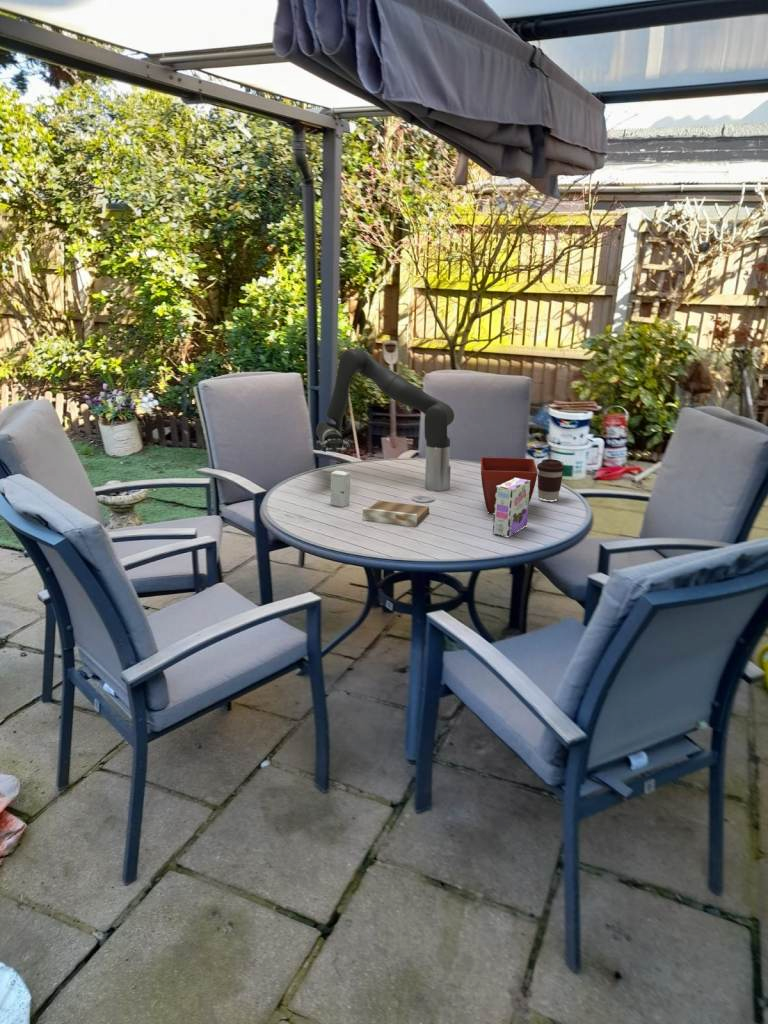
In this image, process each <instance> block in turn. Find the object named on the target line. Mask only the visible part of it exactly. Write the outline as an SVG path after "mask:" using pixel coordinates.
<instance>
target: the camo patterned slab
mask: <svg viewBox="0 0 768 1024" xmlns="http://www.w3.org/2000/svg"><path fill="white" fill-rule="evenodd" d="M429 514H430V506H426V505H419V504H410V503H402V502H393V501H385V500H384V501H383V500H377V501H376V502H375V503H374V504H372V505H371V506H370V507H363V508H362V520H363V521H367V520H369V521H368V522H375V523H381V524H383V523H384V524H391V525H399V526H405V527H413V526H414V527H417V526H418V525H419V524H420V523H422V522H423V520H424V519H425V518H426V517H427V516H428V515H429Z"/></svg>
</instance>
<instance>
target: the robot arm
mask: <svg viewBox="0 0 768 1024" xmlns="http://www.w3.org/2000/svg"><path fill="white" fill-rule="evenodd" d="M356 373H359V374H361V375H363V376H365V377H366V378H368V379H369V380H372V382H374V383H375V385H376V386H377V388H378V390H380V391H381V392H382V393H383V394H384V395H385V396H387V397H388V398H390V399H392V400H393V401H395V402H397V403H398V404H401V405H404V406H407V407H409V408H413V409H415V410H417V411H419V412H421V413H422V414H424V439H425V441H426V442H425V445H426V446H425V449H426V450H425V477H424V487H425V489H426V490H428V491H433V492H442V491H447V490H450V488H451V487H450V486H451V465H450V454H451V452H450V451H451V439H450V438H449V437H448V426H449V425H451V424H452V423H453V421H454V420H455V413H454V410H453V408H452V407H451V406H450V405H449V404H447V403H445V402H444V401H442V400H439V399H438V398H436V397H433V396H431V395H430V394H428V393H426V392H425V391H423V390H422V389H421V388H419V387H417V386H416V385H414V384H413V383H412V382H410V381H408V380H407V379H406V378H404V377H403V376H401V375H399V374H398V373H396V372H394V371H393V370H391V369H389V368H388V367H386V366H385V365H382V364H381V363H379V362H378V361H377V360H375V359H374V358H373V357H372V356H371V355H369V354H368V353H367V352H365V351H364V350H363V349H359V348H350V349H346V350H344V351H343V352H342V353H341V355H340V357H339V362H338V368H337V374H336V378H335V384H334V388H333V390H332V391H333V392H332V395H331V398H330V401H329V403H328V406H327V410H326V416H327V418H329V419H330V420H332V421H334V423H332V422H329V421H325V420H322V421H319V422H318V424H317V426H316V428H315V433H316V436H317V438H319V439H320V440H319V439H317V440H316V441H315V442H316V445H315V448H316V450H317V451H320V450H321V451H322V452H323V453H326V452H327V451H329V452H338V451H339V450H342V451H346V452H349V451H351V450H354V449H355V446H354V445H355V443H354V440H353V439H348V440H347V441H346V440H345V439H344V438H343V437H342V425H343V418H344V415H345V411H346V410H347V407H348V403H349V391H350V386H351V385H350V384H351V381H352V378H353V377H354V375H355V374H356ZM321 440H322V442H321Z"/></svg>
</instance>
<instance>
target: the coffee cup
mask: <svg viewBox="0 0 768 1024" xmlns="http://www.w3.org/2000/svg"><path fill="white" fill-rule="evenodd" d="M536 465H537V466H536V468H537V471H538V473H537V494H538V495H537V496H538V497H539V498H542V499H546V500H555V499H558V500H559V494H560V490H561V487H562V482H563V472H564V471H565V465H564V464H562V462H561V461H560V460H558V459H554V458H553V459H551V458H547V459H546V458H545V459H542V460H541V462H539V463H537V464H536Z"/></svg>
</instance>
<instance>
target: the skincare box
mask: <svg viewBox="0 0 768 1024" xmlns="http://www.w3.org/2000/svg"><path fill="white" fill-rule="evenodd" d="M350 492H351V472H348V471H343V470H334V471H332V472H330V505H331V506H336V507H342V508H344V507H347V506H348V505H349V506H350V501H351V499H350V497H351V493H350Z"/></svg>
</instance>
